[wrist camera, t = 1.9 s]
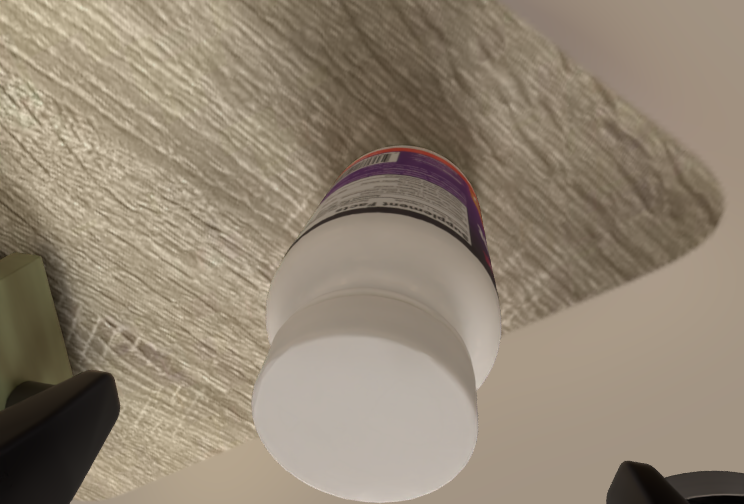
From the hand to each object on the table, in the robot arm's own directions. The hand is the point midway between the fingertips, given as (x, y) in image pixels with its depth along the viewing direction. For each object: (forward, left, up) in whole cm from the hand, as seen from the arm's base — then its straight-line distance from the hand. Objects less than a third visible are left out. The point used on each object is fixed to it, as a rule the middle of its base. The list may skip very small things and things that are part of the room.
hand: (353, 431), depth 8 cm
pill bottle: (0, 0, -10) cm, 10 cm away
